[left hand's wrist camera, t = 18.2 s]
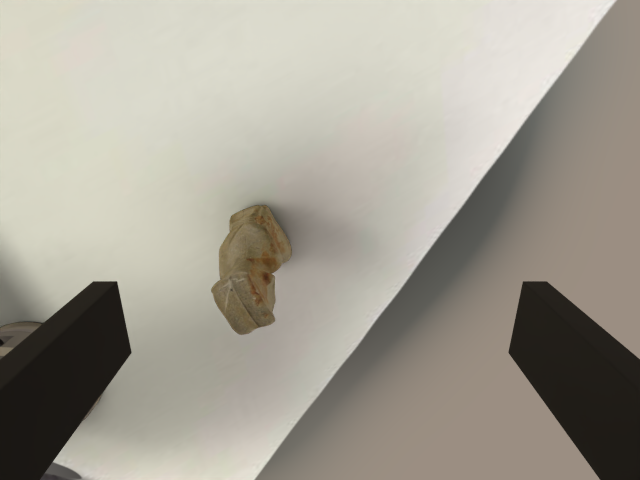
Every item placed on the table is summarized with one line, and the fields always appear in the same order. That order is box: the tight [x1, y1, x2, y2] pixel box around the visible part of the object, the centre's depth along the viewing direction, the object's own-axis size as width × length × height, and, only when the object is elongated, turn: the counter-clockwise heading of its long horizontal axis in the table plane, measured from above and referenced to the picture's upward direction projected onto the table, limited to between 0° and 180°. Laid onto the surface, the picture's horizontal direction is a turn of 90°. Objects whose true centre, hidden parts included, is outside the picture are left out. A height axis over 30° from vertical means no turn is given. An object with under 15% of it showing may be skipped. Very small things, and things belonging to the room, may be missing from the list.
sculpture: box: [211, 205, 292, 335], centre depth 36 cm, size 6×7×15 cm
